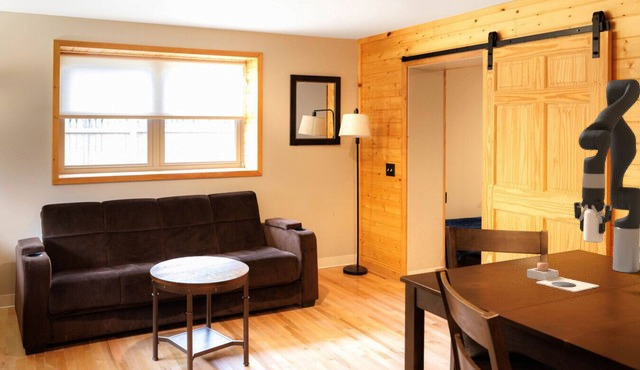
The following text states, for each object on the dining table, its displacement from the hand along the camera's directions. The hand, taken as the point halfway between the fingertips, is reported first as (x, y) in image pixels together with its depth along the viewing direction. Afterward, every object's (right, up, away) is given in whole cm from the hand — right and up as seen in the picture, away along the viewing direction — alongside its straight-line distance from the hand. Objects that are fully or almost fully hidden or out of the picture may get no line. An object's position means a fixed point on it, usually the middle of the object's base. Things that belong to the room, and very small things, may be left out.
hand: (592, 232), depth 221 cm
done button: (-14, -17, +11) cm, 24 cm away
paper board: (-9, -19, 0) cm, 21 cm away
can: (+1, -3, +1) cm, 4 cm away
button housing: (-14, -18, +11) cm, 25 cm away
